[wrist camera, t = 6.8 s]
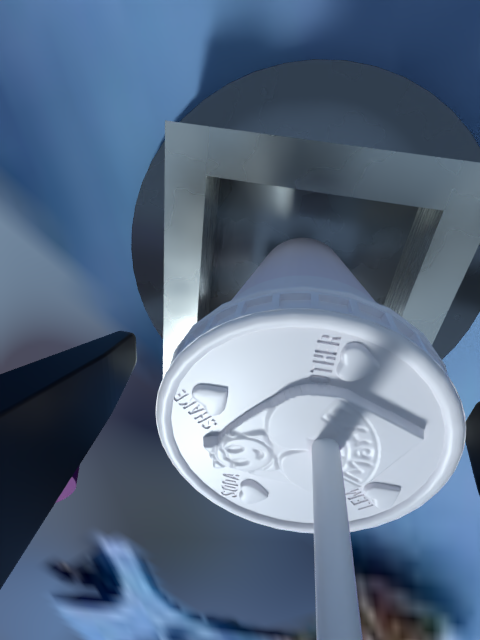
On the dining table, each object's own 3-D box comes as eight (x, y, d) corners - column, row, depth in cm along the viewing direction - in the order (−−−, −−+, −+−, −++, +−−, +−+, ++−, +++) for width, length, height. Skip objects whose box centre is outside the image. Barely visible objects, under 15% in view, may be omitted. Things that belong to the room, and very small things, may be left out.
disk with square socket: (582, 90, 11) (664, 76, 9) (411, 429, 19) (428, 474, 17) (130, 39, 13) (86, 14, 10) (140, 374, 21) (117, 408, 18)
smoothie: (384, 324, 16) (649, 939, 4) (253, 348, 18) (144, 814, 6) (363, 184, 13) (1034, 706, 1) (212, 228, 15) (-169, 614, 3)
